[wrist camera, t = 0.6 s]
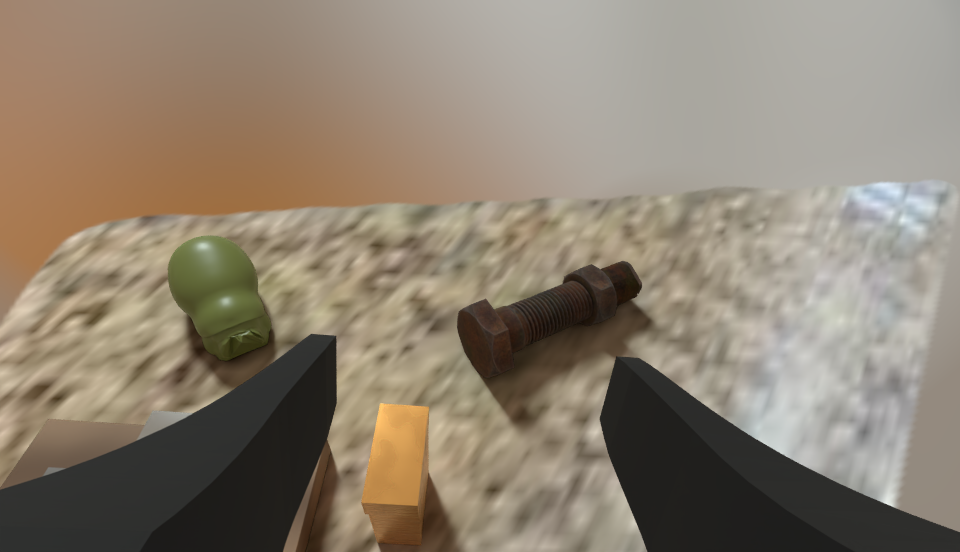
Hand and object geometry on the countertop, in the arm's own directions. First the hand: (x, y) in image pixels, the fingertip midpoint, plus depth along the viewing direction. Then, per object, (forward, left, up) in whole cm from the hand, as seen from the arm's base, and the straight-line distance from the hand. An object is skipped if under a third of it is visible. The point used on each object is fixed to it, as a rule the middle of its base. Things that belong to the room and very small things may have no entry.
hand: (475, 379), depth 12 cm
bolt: (+16, -7, -19) cm, 26 cm away
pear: (+15, +18, -19) cm, 30 cm away
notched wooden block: (+2, +3, -19) cm, 19 cm away
